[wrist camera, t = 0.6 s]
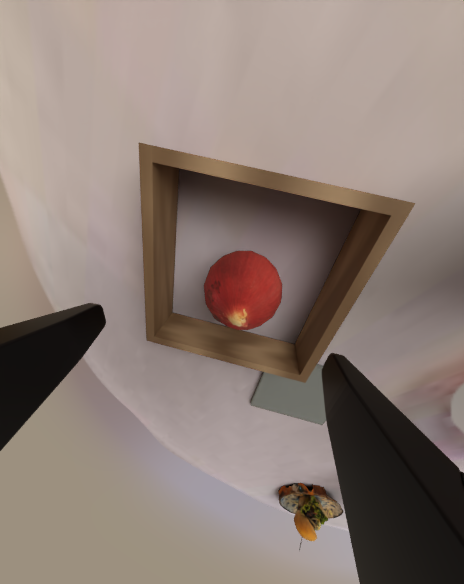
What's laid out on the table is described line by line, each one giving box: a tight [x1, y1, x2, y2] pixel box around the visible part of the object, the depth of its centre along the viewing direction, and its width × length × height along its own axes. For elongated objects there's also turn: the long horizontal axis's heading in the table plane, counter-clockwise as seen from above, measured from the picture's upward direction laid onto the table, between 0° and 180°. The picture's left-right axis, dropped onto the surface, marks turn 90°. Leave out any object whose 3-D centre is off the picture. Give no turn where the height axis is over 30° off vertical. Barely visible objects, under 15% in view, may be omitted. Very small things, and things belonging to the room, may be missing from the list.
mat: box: [251, 365, 326, 425], centre depth 24 cm, size 10×10×1 cm
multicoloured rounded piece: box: [279, 483, 343, 541], centre depth 36 cm, size 12×12×8 cm
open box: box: [139, 143, 415, 383], centre depth 16 cm, size 16×16×4 cm
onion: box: [204, 251, 282, 330], centre depth 15 cm, size 6×6×8 cm
